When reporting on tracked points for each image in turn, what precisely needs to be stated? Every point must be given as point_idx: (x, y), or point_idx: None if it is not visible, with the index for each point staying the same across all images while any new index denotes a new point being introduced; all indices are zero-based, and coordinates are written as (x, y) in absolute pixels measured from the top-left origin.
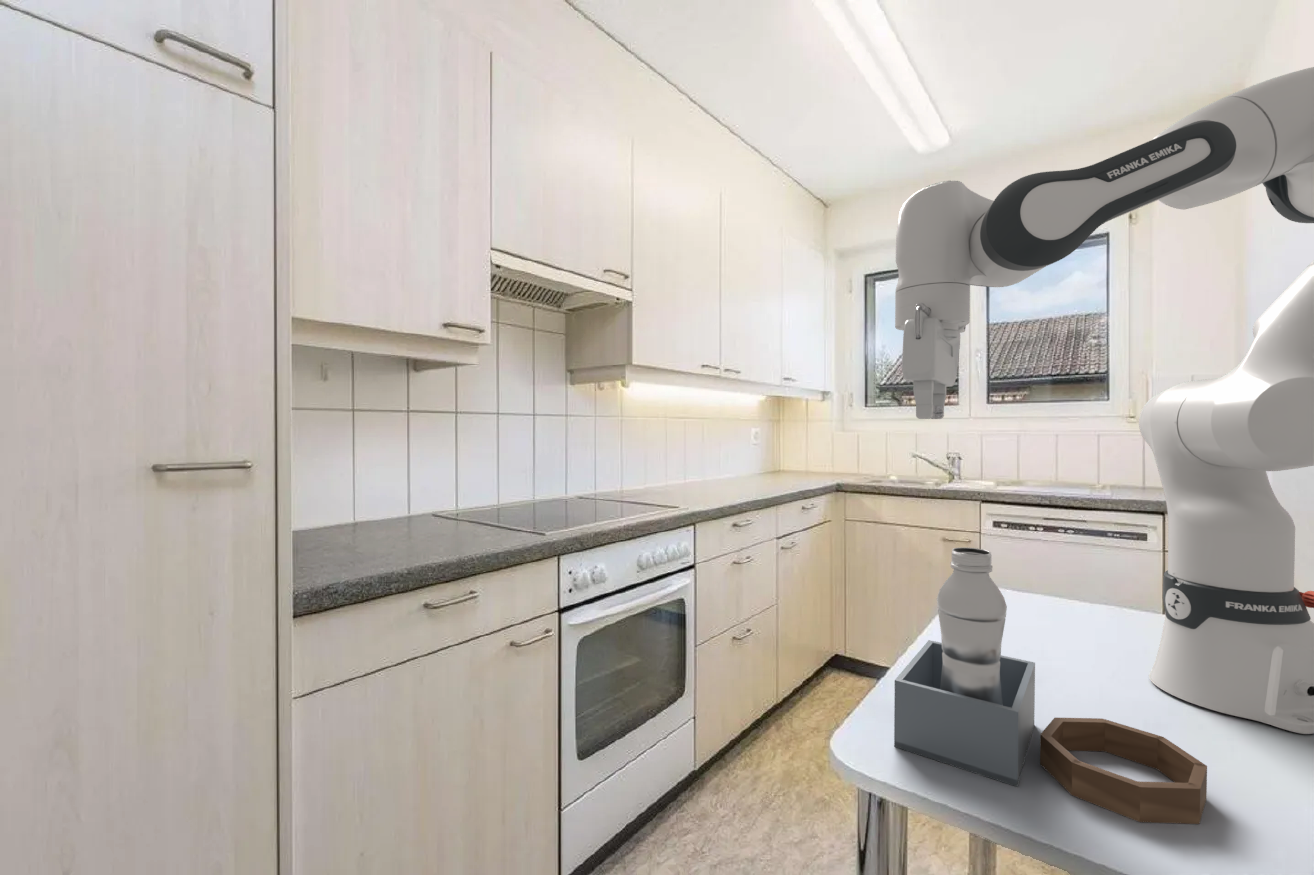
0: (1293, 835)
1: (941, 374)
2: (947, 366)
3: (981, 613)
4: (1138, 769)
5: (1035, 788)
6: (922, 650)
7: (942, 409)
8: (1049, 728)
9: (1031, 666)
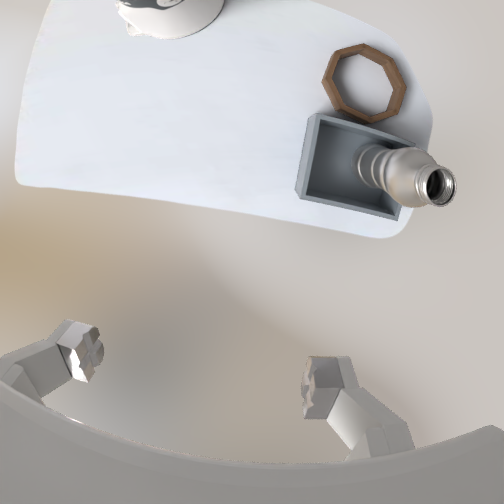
0: (371, 28)
1: (363, 482)
2: (67, 499)
3: (436, 172)
4: (341, 70)
5: (391, 132)
6: (330, 203)
7: (78, 340)
8: (360, 115)
9: (327, 117)
